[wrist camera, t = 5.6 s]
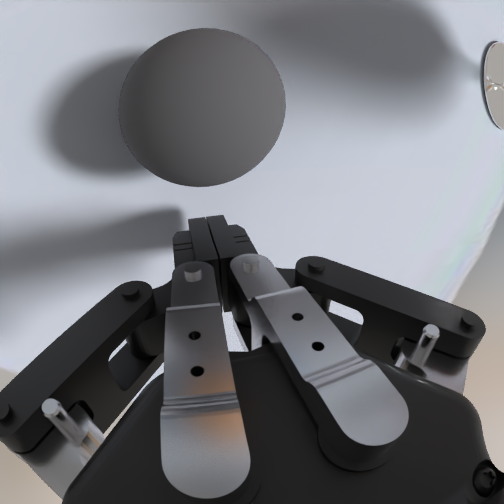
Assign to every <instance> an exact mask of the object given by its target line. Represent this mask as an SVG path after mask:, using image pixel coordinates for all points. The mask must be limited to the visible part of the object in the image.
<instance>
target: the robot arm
mask: <svg viewBox="0 0 504 504" xmlns="http://www.w3.org/2000/svg"><path fill="white" fill-rule="evenodd" d="M188 224H189V230H188V231H181V232H177V233H176V234H175V236H174V237H173V250H174V263H175V269H174V271H173V273H172V279H171V280H170V281H169V282H168V283H166V284H165V285H163V286H160V287H158V288H155V289H152V287H151V286H150V285H149V284H148V283H146V282H143V281H130V282H126V283H124V284H121V285H120V286H118V287H117V288H115V289H114V290H113V291H112V292H111V293H109V294H108V295H107V296H106V297H105V298H103V299H102V300H101V301H100V302H99V303H97V304H96V305H95V306H94V307H93V308H91V309H90V310H89V311H88V312H87V313H86V314H84V315H83V316H82V317H81V318H80V319H79V320H78V321H76V322H75V323H74V324H73V325H72V326H71V327H69V328H68V329H67V330H66V331H65V332H64V333H63V334H62V335H60V336H59V337H58V338H57V339H56V340H55V341H54V342H53V343H52V344H50V345H49V346H48V347H47V348H46V349H45V350H44V351H43V352H42V353H41V354H39V355H38V356H37V357H36V358H35V359H34V360H33V361H32V362H31V363H30V364H29V365H28V366H27V367H26V368H24V369H23V370H22V371H21V372H20V373H19V374H18V375H17V376H16V377H15V378H14V379H13V380H12V381H11V382H10V383H9V384H8V385H7V386H6V387H5V388H4V389H3V390H2V391H1V392H0V441H1V442H3V443H4V444H5V445H6V446H7V447H8V449H9V450H10V451H12V452H13V453H14V454H15V455H16V456H18V457H19V458H20V459H22V460H23V461H24V462H26V463H27V464H28V465H29V466H30V467H31V468H32V469H33V470H34V472H35V473H36V474H37V475H38V476H39V477H40V478H41V479H42V480H43V481H44V482H45V483H46V484H47V485H48V486H49V487H50V488H51V489H52V490H53V491H54V492H55V493H56V494H57V495H58V496H59V497H60V498H62V499H63V502H62V504H504V473H503V472H501V471H499V470H498V469H497V468H496V467H495V466H494V464H493V463H492V461H491V459H490V457H489V454H488V452H487V449H486V445H485V442H484V437H483V431H482V425H481V420H480V417H479V414H478V412H477V410H476V409H475V407H474V406H473V404H472V403H471V402H470V401H469V400H468V399H467V398H466V397H465V396H463V390H464V385H465V380H466V373H467V367H468V361H469V359H470V357H471V356H472V354H473V353H474V351H475V349H476V348H477V346H478V344H479V343H480V341H481V339H482V337H483V336H484V334H485V331H486V328H485V324H484V322H483V321H482V319H481V318H480V317H479V316H478V315H476V314H475V313H473V312H471V311H469V310H466V309H463V308H461V307H458V306H456V305H453V304H450V303H448V302H445V301H442V300H440V299H437V298H434V297H432V296H429V295H426V294H423V293H421V292H418V291H415V290H413V289H410V288H407V287H404V286H402V285H399V284H396V283H393V282H391V281H388V280H385V279H382V278H379V277H377V276H374V275H371V274H368V273H365V272H363V271H360V270H357V269H354V268H351V267H349V266H346V265H343V264H340V263H337V262H334V261H331V260H329V259H326V258H323V257H318V256H308V257H304V258H301V259H300V260H298V261H297V263H296V267H295V269H282V268H275V267H274V265H273V264H272V263H271V261H270V260H269V259H268V258H267V257H265V256H262V255H259V254H258V253H257V251H256V249H255V247H254V246H253V244H252V242H251V241H250V238H249V237H248V235H247V233H246V231H245V229H243V228H242V227H240V226H238V225H237V224H236V225H228V224H227V222H226V220H225V218H224V216H223V215H218V216H210V217H206V219H205V217H202V218H194V219H188ZM331 300H333V301H335V302H338V303H340V304H343V305H345V306H348V307H350V308H353V309H355V310H357V311H359V312H360V313H361V314H362V316H363V319H364V321H363V325H360V324H358V323H355V322H353V321H350V320H348V319H345V318H343V317H340V316H338V315H336V314H333V313H331V312H329V307H330V302H331ZM222 306H223V310H224V312H230V311H232V314H233V326H234V329H235V331H236V334H237V336H238V338H239V340H240V343H241V345H242V347H243V349H244V352H230V351H228V346H227V341H226V335H225V329H224V323H223V317H222ZM125 339H126V341H127V343H126V344H125V345H124V346H123V347H122V348H121V349H120V350H119V351H118V353H117V354H116V355H115V356H114V357H113V358H112V359H111V360H110V361H109V362H108V360H109V357H110V355H111V353H112V352H113V351H114V350H115V349H116V348H117V347H118V346H119V345H120V344H121V343H122V342H123V341H124V340H125ZM163 362H164V373H162V374H161V375H159V376H157V377H156V378H155V379H153V380H152V381H151V382H150V383H149V384H148V385H147V386H146V387H145V388H144V389H143V390H142V392H141V393H140V394H139V396H138V397H137V398H136V400H135V401H134V402H133V403H132V405H131V406H130V407H129V409H128V410H127V411H126V413H125V414H124V415H123V417H122V418H121V419H120V420H119V422H118V423H117V424H116V426H115V427H114V428H113V429H112V431H111V432H110V433H109V435H108V436H107V437H106V439H105V440H104V436H103V434H104V433H105V431H106V430H107V429H108V428H109V427H110V425H111V424H112V423H113V422H114V421H115V419H116V418H117V417H118V416H119V414H120V413H121V412H122V411H123V410H124V409H125V407H126V406H127V405H128V404H129V403H130V401H131V400H132V399H133V398H134V397H135V396H136V394H137V393H138V392H139V391H140V390H141V388H142V387H143V386H144V385H145V384H146V382H147V381H148V380H149V379H150V378H151V376H152V375H153V374H154V373H155V372H156V370H157V369H158V368H159V367H160V366H161V364H162V363H163Z"/></svg>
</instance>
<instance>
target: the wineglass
mask: <svg viewBox="0 0 504 504" xmlns="http://www.w3.org/2000/svg"><path fill="white" fill-rule="evenodd" d="M484 90H485V97H486V101H487V106H488V109H489V112H490V115H491V117H492V119H493V121H494V122H495V124H496V125H497V126H498V127H499V128H500V129H502V130H504V43H501V42H496V43H494V44H492V45H491V46H490V47H489V49H488V51H487V54H486V58H485V63H484Z"/></svg>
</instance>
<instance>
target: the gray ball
mask: <svg viewBox="0 0 504 504" xmlns="http://www.w3.org/2000/svg"><path fill="white" fill-rule="evenodd" d="M285 108H286V104H285V92H284V87H283V83H282V80H281V78H280V75H279V73H278V71H277V69H276V67H275V65H274V64H273V62H272V61H271V60H270V58H269V57H268V56H267V55H266V54H265V53H264V52H263V51H262V50H261V49H260V48H259V47H258V46H257V45H255V44H254V43H252V42H251V41H249V40H248V39H246V38H244V37H242V36H240V35H238V34H235V33H231V32H228V31H224V30H219V29H209V28H200V29H191V30H186V31H182V32H179V33H176V34H173V35H171V36H168V37H166V38H164V39H163V40H161V41H159V42H157V43H156V44H155V45H153V46H152V47H150V48H149V49H148V50H147V51H146V52H145V53H144V54H143V55H142V56H141V57H140V58H139V59H138V60H137V62H136V63H135V64H134V65H133V67H132V68H131V70H130V72H129V73H128V75H127V77H126V79H125V82H124V84H123V87H122V91H121V95H120V101H119V121H120V126H121V130H122V134H123V137H124V139H125V142H126V144H127V146H128V147H129V149H130V151H131V152H132V154H133V155H134V156H135V158H136V159H137V160H138V161H139V162H140V163H141V164H142V165H143V166H144V167H145V168H146V169H148V170H149V171H150V172H152V173H153V174H155V175H156V176H158V177H160V178H162V179H164V180H166V181H169V182H172V183H175V184H179V185H185V186H191V187H207V186H214V185H219V184H223V183H226V182H229V181H232V180H234V179H236V178H238V177H241V176H242V175H244V174H246V173H247V172H249V171H250V170H251V169H253V168H254V167H255V166H257V165H258V164H259V163H260V162H261V161H262V160H263V159H264V158H265V157H266V155H267V154H268V153H269V152H270V150H271V149H272V147H273V146H274V145H275V143H276V141H277V139H278V137H279V134H280V131H281V129H282V126H283V122H284V118H285Z"/></svg>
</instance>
